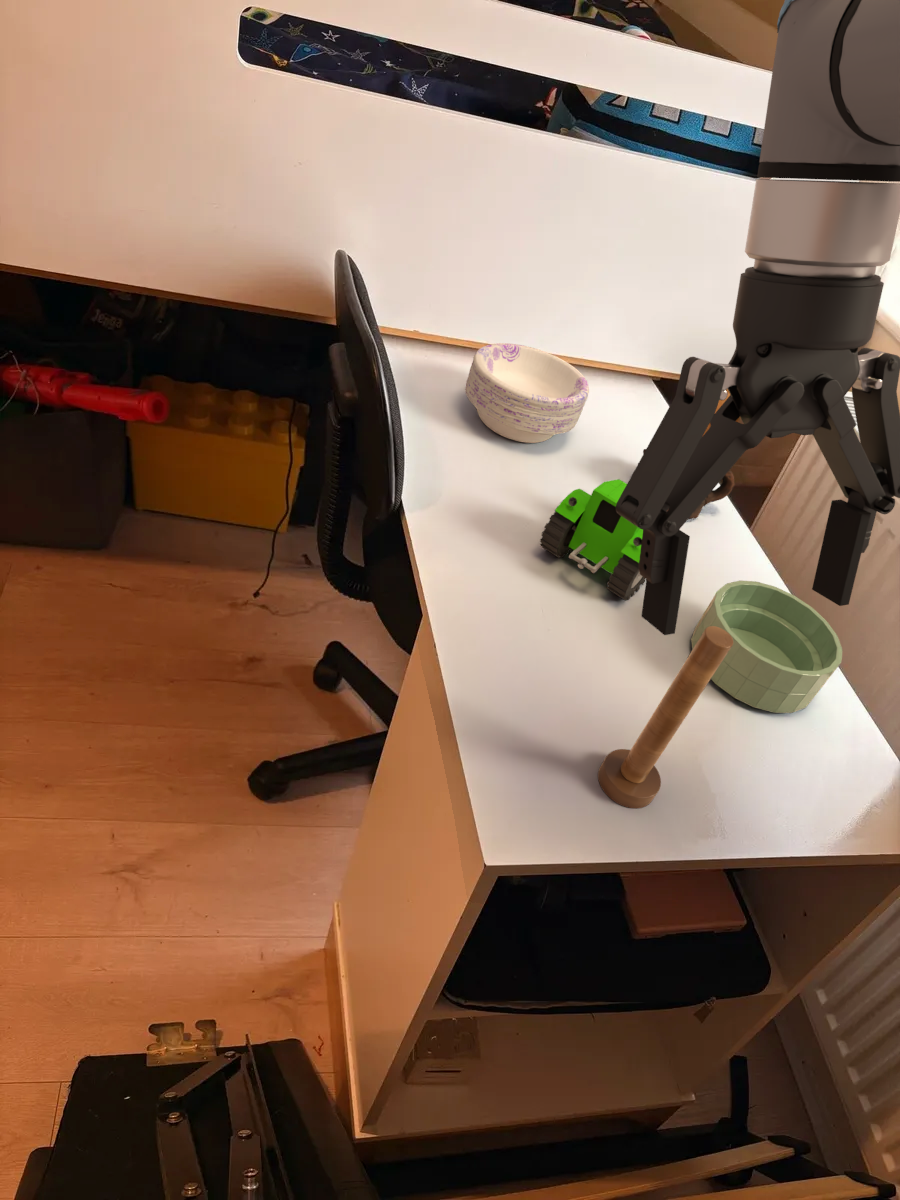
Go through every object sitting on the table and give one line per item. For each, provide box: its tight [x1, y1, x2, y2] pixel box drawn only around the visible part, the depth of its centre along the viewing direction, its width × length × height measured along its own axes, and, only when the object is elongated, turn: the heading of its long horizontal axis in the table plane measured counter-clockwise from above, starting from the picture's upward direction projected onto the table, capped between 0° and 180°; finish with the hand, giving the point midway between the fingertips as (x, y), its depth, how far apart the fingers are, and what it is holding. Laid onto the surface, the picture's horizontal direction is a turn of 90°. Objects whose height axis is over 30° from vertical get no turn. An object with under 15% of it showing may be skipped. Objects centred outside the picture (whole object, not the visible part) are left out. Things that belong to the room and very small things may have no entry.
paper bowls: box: [464, 342, 590, 444], centre depth 115 cm, size 15×15×8 cm
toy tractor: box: [539, 478, 646, 601], centre depth 96 cm, size 11×16×10 cm
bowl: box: [690, 580, 844, 714], centre depth 90 cm, size 13×13×6 cm
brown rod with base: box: [597, 626, 733, 809], centre depth 70 cm, size 5×5×18 cm
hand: (747, 611), depth 59 cm, fingers open, 13 cm apart
